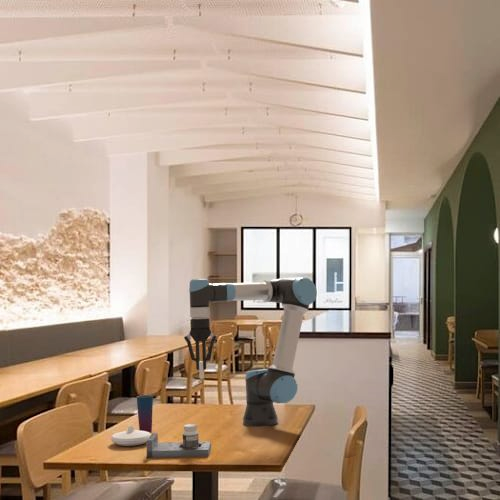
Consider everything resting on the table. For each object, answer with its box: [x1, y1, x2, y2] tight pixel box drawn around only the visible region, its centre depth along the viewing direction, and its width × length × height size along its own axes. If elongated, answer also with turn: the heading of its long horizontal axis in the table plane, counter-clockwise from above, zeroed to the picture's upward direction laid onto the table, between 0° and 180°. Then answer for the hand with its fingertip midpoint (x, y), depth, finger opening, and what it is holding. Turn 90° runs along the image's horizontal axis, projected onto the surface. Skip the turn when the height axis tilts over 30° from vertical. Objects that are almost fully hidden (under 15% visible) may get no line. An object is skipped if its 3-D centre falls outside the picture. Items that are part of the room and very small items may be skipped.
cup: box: [136, 394, 154, 434], centre depth 302 cm, size 7×7×15 cm
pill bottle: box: [182, 423, 200, 449], centre depth 264 cm, size 6×6×10 cm
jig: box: [145, 432, 212, 459], centre depth 264 cm, size 22×13×6 cm, turn 89°
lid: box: [110, 424, 152, 447], centre depth 281 cm, size 16×16×7 cm
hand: (201, 378), depth 283 cm, fingers closed
